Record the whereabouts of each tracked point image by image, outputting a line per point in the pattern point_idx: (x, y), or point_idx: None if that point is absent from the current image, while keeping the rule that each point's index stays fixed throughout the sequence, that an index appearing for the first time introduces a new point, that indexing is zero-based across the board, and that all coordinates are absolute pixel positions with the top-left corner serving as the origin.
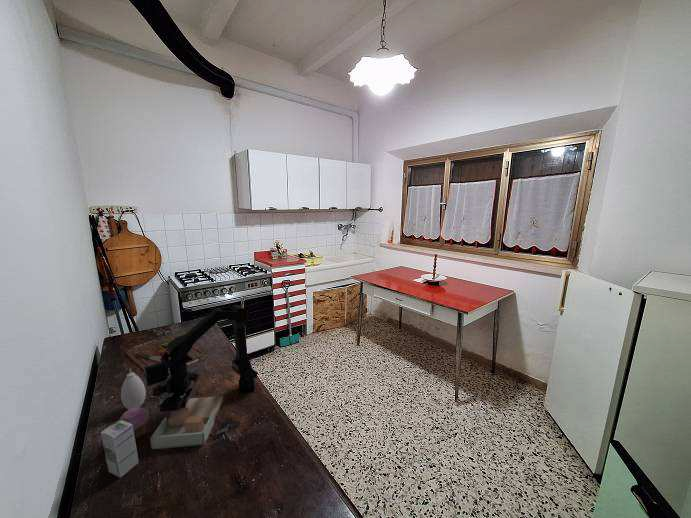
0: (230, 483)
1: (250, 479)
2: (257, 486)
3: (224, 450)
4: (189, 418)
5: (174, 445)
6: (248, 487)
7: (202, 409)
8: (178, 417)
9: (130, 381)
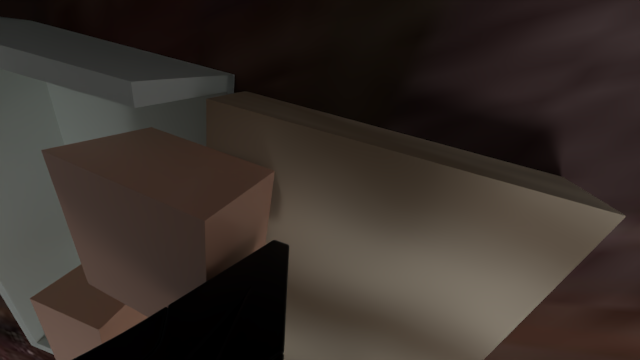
0: (6, 317)
1: (28, 348)
2: (18, 352)
3: None
4: (77, 328)
5: None
6: (11, 340)
7: (292, 342)
8: (88, 253)
9: None
